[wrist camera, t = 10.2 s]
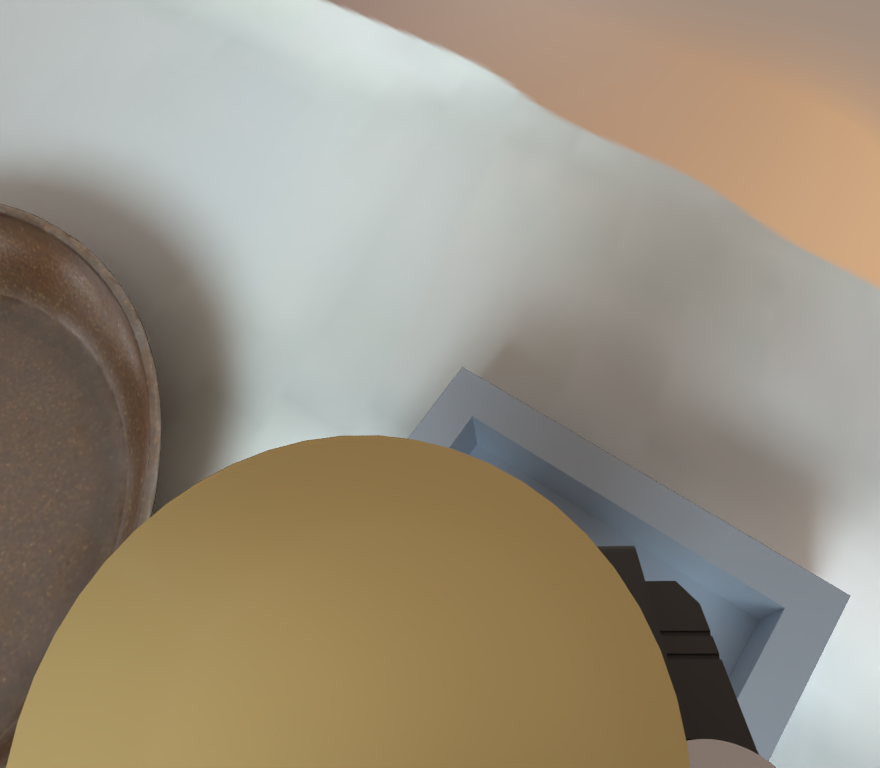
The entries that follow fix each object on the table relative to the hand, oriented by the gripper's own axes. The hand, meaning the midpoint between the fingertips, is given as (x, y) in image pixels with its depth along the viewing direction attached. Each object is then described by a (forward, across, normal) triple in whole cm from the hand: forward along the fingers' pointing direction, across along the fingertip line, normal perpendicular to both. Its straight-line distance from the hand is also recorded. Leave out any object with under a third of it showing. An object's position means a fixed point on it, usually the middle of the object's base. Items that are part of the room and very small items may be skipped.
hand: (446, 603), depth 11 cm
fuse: (+3, 0, +5) cm, 6 cm away
